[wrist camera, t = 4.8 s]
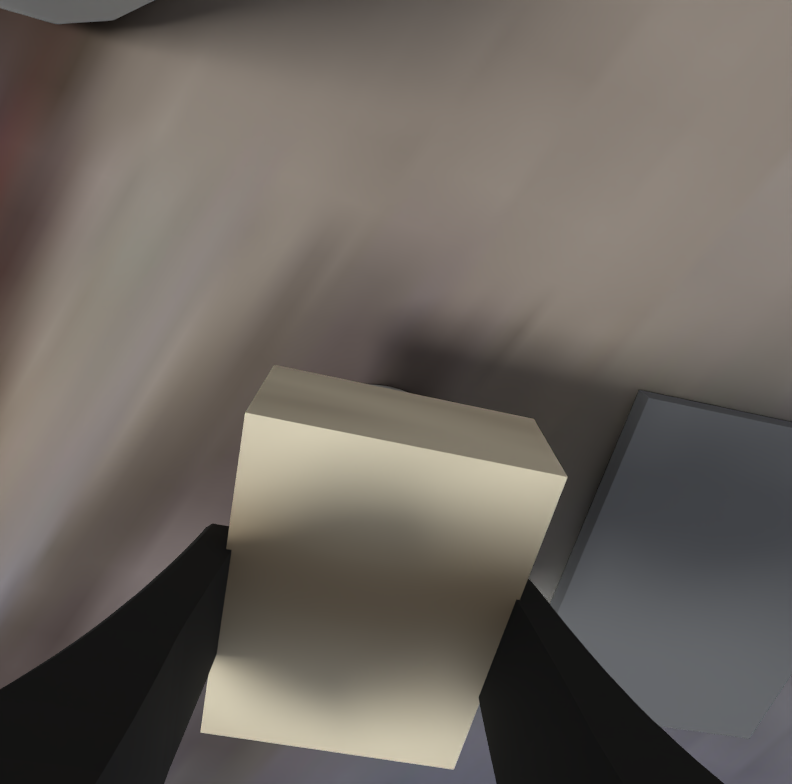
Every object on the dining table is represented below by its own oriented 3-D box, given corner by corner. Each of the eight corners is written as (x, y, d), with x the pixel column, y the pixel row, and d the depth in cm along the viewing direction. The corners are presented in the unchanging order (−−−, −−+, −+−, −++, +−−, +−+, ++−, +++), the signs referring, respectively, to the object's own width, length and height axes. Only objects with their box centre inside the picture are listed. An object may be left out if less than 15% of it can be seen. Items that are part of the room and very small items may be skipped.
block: (443, 677, 14) (453, 769, 12) (230, 642, 14) (200, 732, 12) (533, 418, 12) (567, 477, 9) (274, 364, 11) (245, 412, 9)
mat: (739, 724, 21) (749, 738, 21) (513, 691, 20) (517, 706, 20) (914, 448, 17) (933, 457, 16) (639, 389, 16) (648, 397, 15)
